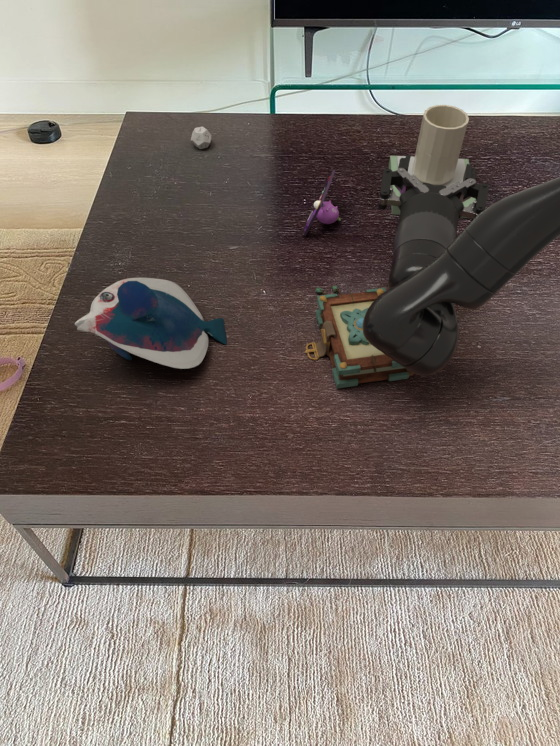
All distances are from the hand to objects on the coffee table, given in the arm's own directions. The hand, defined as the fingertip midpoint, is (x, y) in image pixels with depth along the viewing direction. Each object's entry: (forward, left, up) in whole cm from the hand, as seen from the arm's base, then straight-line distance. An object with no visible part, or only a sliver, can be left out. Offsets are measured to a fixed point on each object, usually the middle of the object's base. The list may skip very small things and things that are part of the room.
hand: (437, 164), depth 88 cm
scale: (-2, -8, -10) cm, 14 cm away
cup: (-2, -9, -8) cm, 12 cm away
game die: (+37, -18, -11) cm, 43 cm away
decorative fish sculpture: (+36, +27, -11) cm, 46 cm away
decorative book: (+11, +24, -11) cm, 28 cm away
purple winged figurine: (+15, +1, -11) cm, 19 cm away
